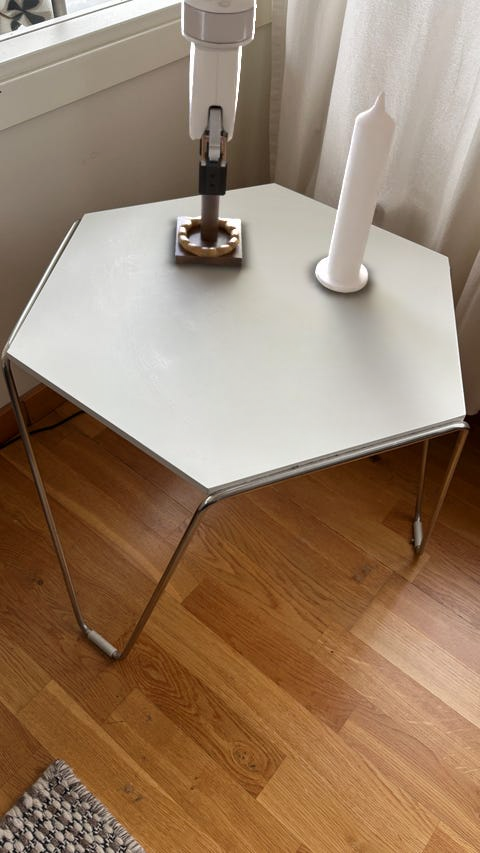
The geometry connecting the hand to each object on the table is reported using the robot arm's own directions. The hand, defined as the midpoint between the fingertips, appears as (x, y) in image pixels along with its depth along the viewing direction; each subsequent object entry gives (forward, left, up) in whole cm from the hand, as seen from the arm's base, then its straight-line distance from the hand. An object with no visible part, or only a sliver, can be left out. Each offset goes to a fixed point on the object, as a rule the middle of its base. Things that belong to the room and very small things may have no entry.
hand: (212, 173), depth 86 cm
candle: (+18, -2, -13) cm, 22 cm away
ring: (0, +3, -11) cm, 11 cm away
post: (0, +4, -13) cm, 13 cm away
